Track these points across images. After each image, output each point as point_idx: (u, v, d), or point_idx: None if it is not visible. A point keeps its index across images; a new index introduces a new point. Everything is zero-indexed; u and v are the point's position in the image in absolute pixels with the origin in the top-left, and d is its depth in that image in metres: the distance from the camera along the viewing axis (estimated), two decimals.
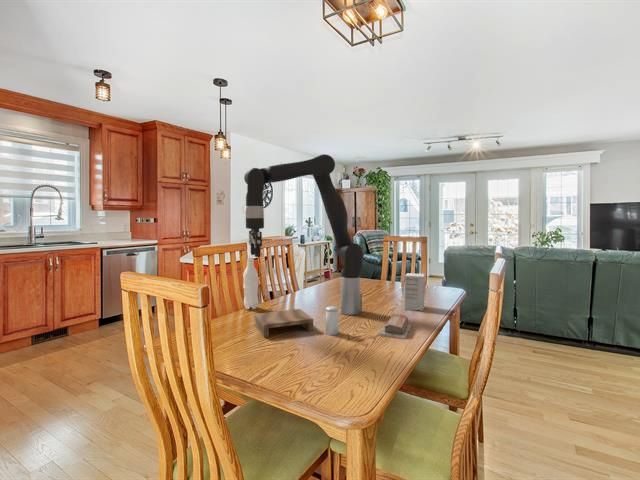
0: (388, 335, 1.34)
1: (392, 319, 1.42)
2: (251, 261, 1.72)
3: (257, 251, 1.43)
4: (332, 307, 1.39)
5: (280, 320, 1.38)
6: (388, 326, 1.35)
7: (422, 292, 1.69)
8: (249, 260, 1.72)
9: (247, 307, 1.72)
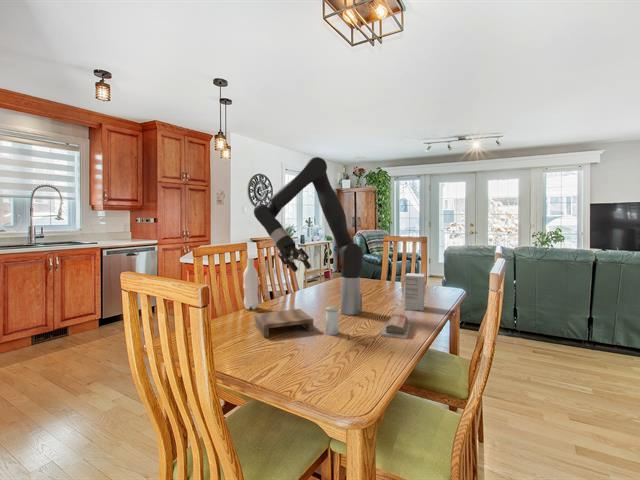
0: (389, 335, 1.34)
1: (392, 319, 1.42)
2: (251, 261, 1.72)
3: (291, 266, 1.43)
4: (332, 307, 1.39)
5: (280, 320, 1.38)
6: (389, 326, 1.35)
7: (422, 292, 1.69)
8: (249, 260, 1.72)
9: (247, 307, 1.72)
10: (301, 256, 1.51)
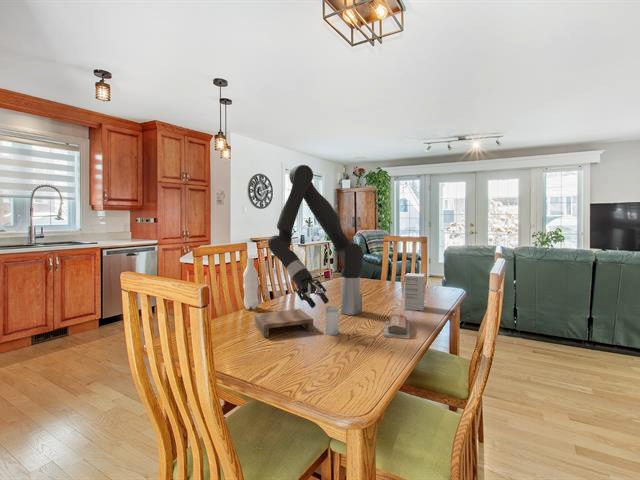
0: (392, 336, 1.33)
1: (393, 319, 1.42)
2: (251, 261, 1.72)
3: (308, 303, 1.38)
4: (332, 307, 1.39)
5: (280, 320, 1.38)
6: (392, 327, 1.34)
7: (422, 292, 1.69)
8: (249, 260, 1.72)
9: (247, 307, 1.72)
10: (318, 290, 1.45)
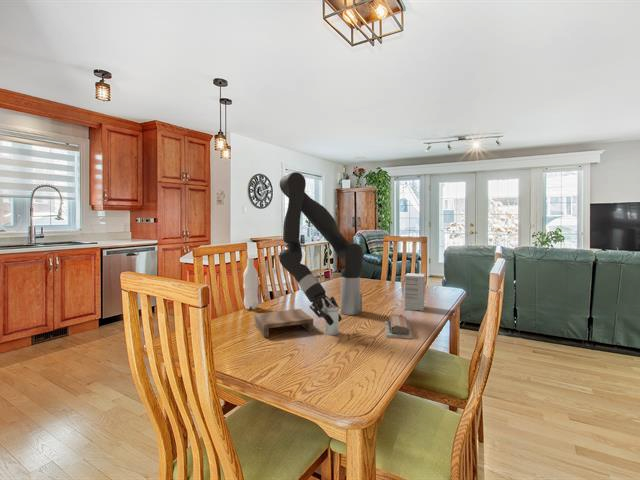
0: (395, 336, 1.33)
1: (394, 319, 1.41)
2: (251, 261, 1.72)
3: (326, 320, 1.35)
4: (332, 307, 1.39)
5: (280, 320, 1.38)
6: (394, 327, 1.34)
7: (422, 292, 1.69)
8: (249, 260, 1.72)
9: (247, 307, 1.72)
10: None
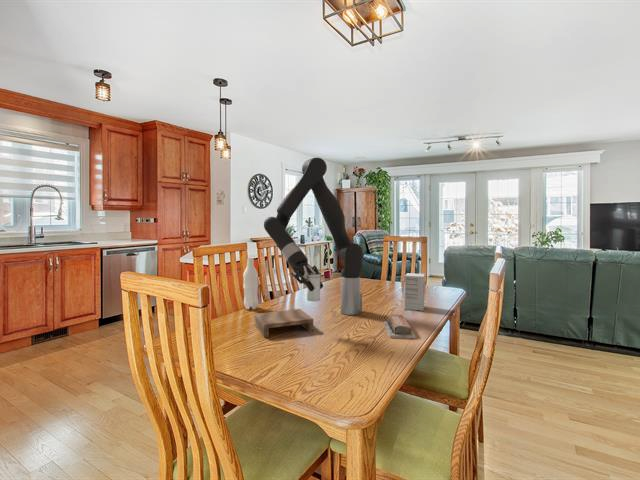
0: (399, 336, 1.32)
1: (394, 320, 1.41)
2: (251, 261, 1.72)
3: (307, 286, 1.36)
4: (314, 274, 1.39)
5: (280, 320, 1.38)
6: (397, 327, 1.34)
7: (422, 292, 1.69)
8: (249, 260, 1.72)
9: (247, 307, 1.72)
10: None
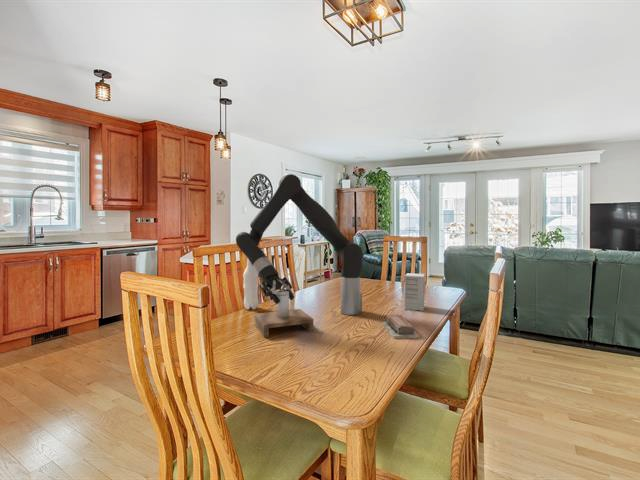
0: (403, 337, 1.32)
1: (396, 320, 1.41)
2: None
3: (273, 299, 1.40)
4: (283, 291, 1.44)
5: (280, 320, 1.38)
6: (401, 327, 1.33)
7: (422, 292, 1.69)
8: None
9: (247, 307, 1.72)
10: (284, 286, 1.47)
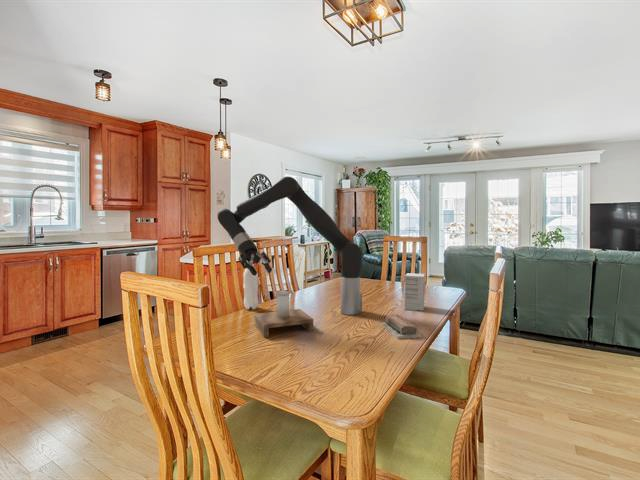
0: (406, 337, 1.32)
1: (396, 320, 1.41)
2: None
3: (250, 270, 1.47)
4: (283, 291, 1.44)
5: (280, 320, 1.38)
6: (404, 328, 1.33)
7: (422, 292, 1.69)
8: None
9: (247, 307, 1.72)
10: (262, 260, 1.54)
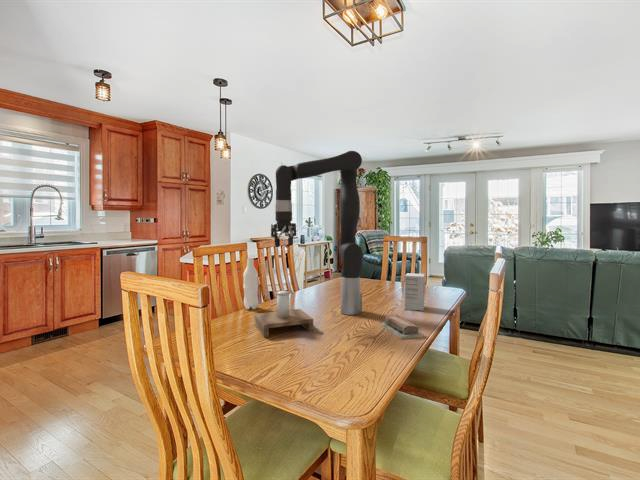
0: (409, 336, 1.32)
1: (397, 320, 1.40)
2: (251, 261, 1.72)
3: (275, 241, 1.57)
4: (283, 291, 1.44)
5: (280, 320, 1.38)
6: (407, 327, 1.33)
7: (422, 292, 1.69)
8: (249, 260, 1.72)
9: (247, 307, 1.72)
10: (290, 233, 1.62)
